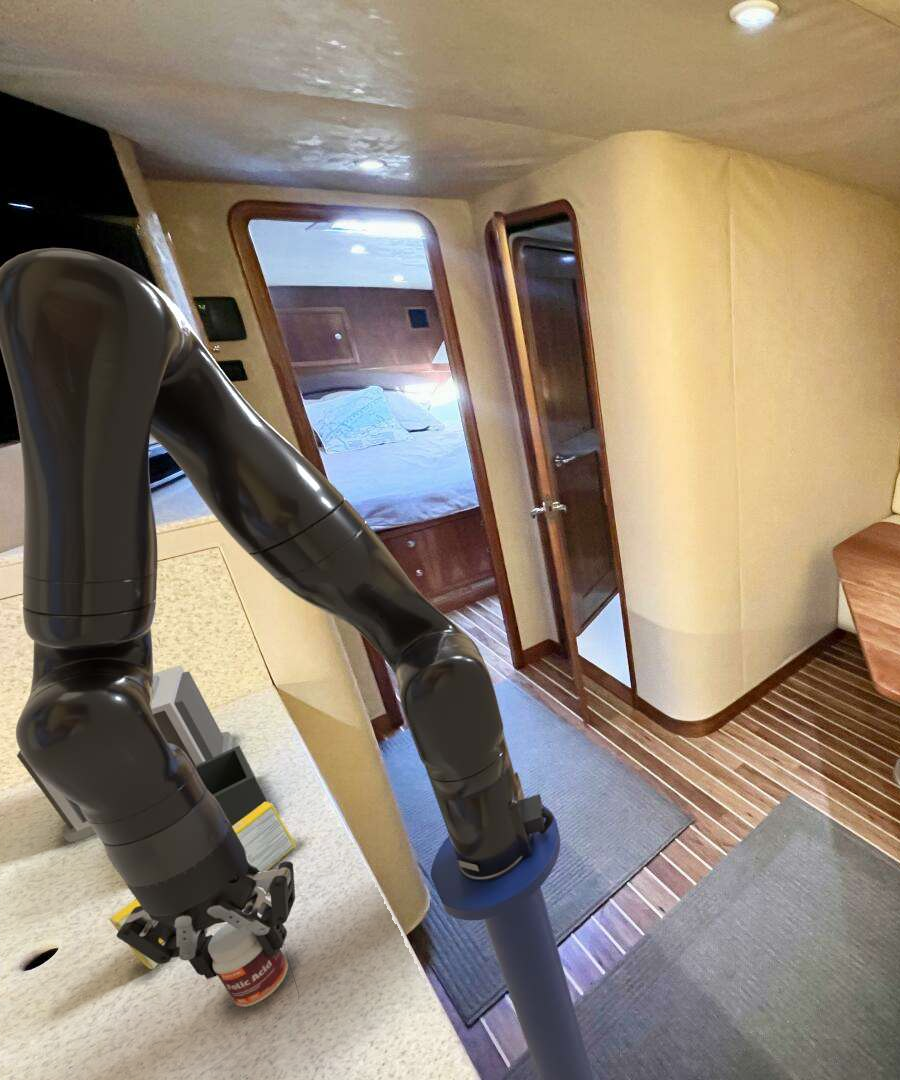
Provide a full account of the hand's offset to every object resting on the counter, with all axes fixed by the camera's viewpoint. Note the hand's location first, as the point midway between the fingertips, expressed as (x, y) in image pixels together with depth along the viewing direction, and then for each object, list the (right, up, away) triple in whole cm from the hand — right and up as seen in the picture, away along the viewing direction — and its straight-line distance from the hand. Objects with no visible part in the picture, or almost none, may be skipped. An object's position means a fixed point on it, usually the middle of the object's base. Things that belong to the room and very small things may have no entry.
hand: (247, 957), depth 57 cm
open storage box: (-24, +3, +23) cm, 33 cm away
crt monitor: (-41, +5, +30) cm, 51 cm away
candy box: (-12, -1, +11) cm, 16 cm away
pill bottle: (0, -4, +2) cm, 5 cm away
